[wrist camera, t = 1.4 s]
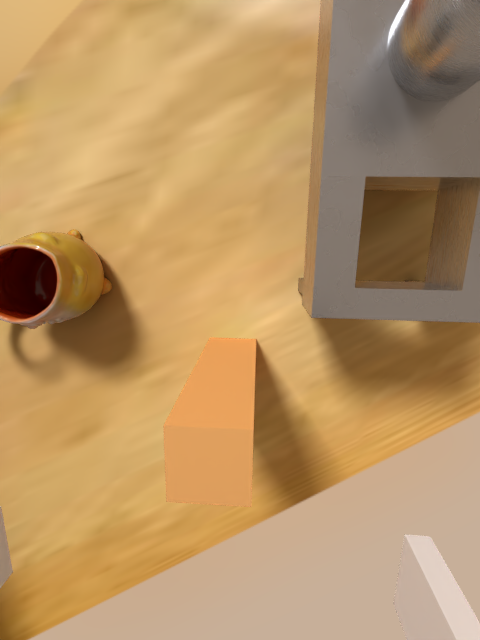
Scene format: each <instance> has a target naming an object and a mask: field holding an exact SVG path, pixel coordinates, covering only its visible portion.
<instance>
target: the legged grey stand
mask: <svg viewBox="0 0 480 640" xmlns="http://www.w3.org/2000/svg"><path fill="white" fill-rule="evenodd" d="M364 190H438V195H437V202H436V209H435V216H434V223H433V230H432V236H431V243H430V250H429V257H428V264H427V271H426V277H425V282H421V281H408V280H405V282H394V281H355V280H356V270H357V260H358V250H359V240H360V229H361V219H362V209H363V199H364ZM298 291H299V292H300V293H301V294H302V295H303V298H302V305H303V307H304V308H305V309H306V311H307V312H308V314H309V315H310V316H311V318H339V319H373V320H407V321H441V322H476V323H480V0H321V7H320V23H319V39H318V55H317V72H316V88H315V104H314V120H313V136H312V152H311V169H310V185H309V201H308V217H307V233H306V249H305V266H304V278H299V284H298Z"/></svg>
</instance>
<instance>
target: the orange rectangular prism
mask: <svg viewBox="0 0 480 640" xmlns="http://www.w3.org/2000/svg"><path fill="white" fill-rule="evenodd" d="M255 367H256V339H236V338H209V340H208V342H207V344H206V346H205V348H204V350H203V352H202V354H201V355H200V357H199V359H198V361H197V363H196V365H195V367H194V369H193V371H192V373H191V374H190V376H189V378H188V380H187V382H186V384H185V386H184V388H183V390H182V391H181V393H180V395H179V397H178V399H177V401H176V403H175V405H174V407H173V409H172V410H171V412H170V414H169V416H168V418H167V420H166V422H165V424H164V450H165V475H166V500H167V502H178V503H195V504H212V505H228V506H245V507H251V500H252V467H253V434H254V401H255Z"/></svg>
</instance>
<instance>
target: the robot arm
mask: <svg viewBox="0 0 480 640" xmlns="http://www.w3.org/2000/svg"><path fill="white" fill-rule="evenodd" d="M12 572H13V571H12V565H11V560H10V554H9V548H8V543H7V537H6V532H5V526H4V520H3V515H2V509H1V506H0V588H1V587H2V586H3V584H4V583H5V582H6V580H7V579H8V578H9V576H10V575H11V574H12ZM394 606H395V609H396V612H397V614H398V617H399V620H400V622H401V625H402V628H403V631H404V633H405V636H406V639H407V640H480V622H479V621H478V619H477V617H476V615H475V614H474V612H473V610H472V608H471V606H470V605H469V603H468V601H467V600H466V598H465V596H464V594H463V593H462V591H461V589H460V587H459V586H458V584H457V582H456V581H455V579H454V577H453V575H452V573H451V572H450V570H449V568H448V566H447V565H446V563H445V561H444V559H443V558H442V556H441V554H440V553H439V551H438V549H437V547H436V546H435V544H434V542H433V540H432V539H431V537H430V536H416V535H405V536H404V542H403V548H402V555H401V560H400V567H399V573H398V579H397V585H396V591H395V597H394Z"/></svg>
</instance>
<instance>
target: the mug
mask: <svg viewBox="0 0 480 640" xmlns="http://www.w3.org/2000/svg"><path fill="white" fill-rule="evenodd" d="M111 288H112V284H111V282H110V281H109V280H108V279H106V278H105V276H104V271H103V266H102V263H101V261H100V259H99V257H98V255H97V254H96V252H95V251H94V250H93V249H92V248H91V247H90V246H89V245H88V244H87V243H85V242H84V241H82V240H81V235H80V233H79V232H78V231H77V230H71V231H69V232H68V233H67V234H65V233H58V232H38V233H34V234H30V235H27V236H24V237H22V238H19V239H18V240H16V241H14V242H13V243H10V244H6V245H3V246H0V320H3V321H6V322H9V323H14V324H21V325H23V326H27V327H28V328H30V329H35V328H37V327H38V326H40V325H42V324H45V323H49V324H54V323H55V322H56V323H61V322H63V321H66V320H70V319H73V318H76V317H78V316H80V315H82V314H84V313H85V312H87V311H88V310H89V309H91V308H92V307H93V306H94V304H95V303H96V302H97V301H98V299H99V298H100V296H101V295H102V294H105V293H108V292H109V291H110V290H111Z"/></svg>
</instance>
